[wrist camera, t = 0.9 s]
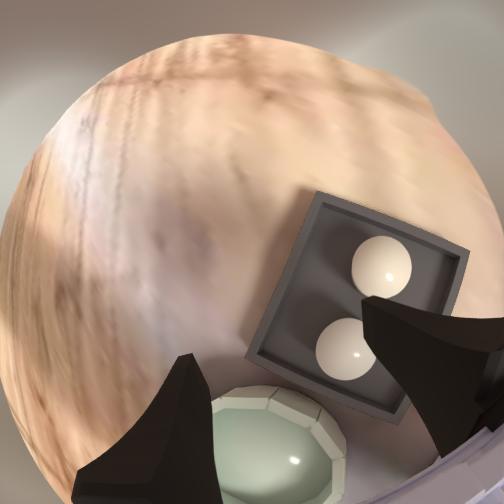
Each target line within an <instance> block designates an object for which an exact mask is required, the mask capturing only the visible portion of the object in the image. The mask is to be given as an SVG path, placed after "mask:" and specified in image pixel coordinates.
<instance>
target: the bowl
mask: <svg viewBox="0 0 504 504" xmlns="http://www.w3.org/2000/svg"><path fill="white" fill-rule="evenodd" d="M211 403H212V412H213V442H214V458H215V465H216V471H217V476H218V481H219V486H220V491H221V495H222V500H223V504H336V503H337V502H338V501H339V500H340V498H341V497H342V496H343V494H344V488H345V478H346V455H347V452H346V439H345V437H344V435H343V433H342V431H341V428H340V427H339V425H338V423H337V422H336V420H335V419H334V418H333V417H332V415H331V414H330V413H329V412H328V411H327V410H326V409H325V408H324V407H323V406H321V405H320V404H319V403H317V402H316V401H314V400H313V399H311V398H309V397H308V396H306V395H304V394H302V393H299V392H297V391H294V390H291V389H287V388H284V387H279V386H272V385H252V386H246V387H237V388H234V389H232V390H231V391H229V392H227V393H225V394H223V395H222V396H220V397H218V398H217V399H215V400H213V401H211Z"/></svg>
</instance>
